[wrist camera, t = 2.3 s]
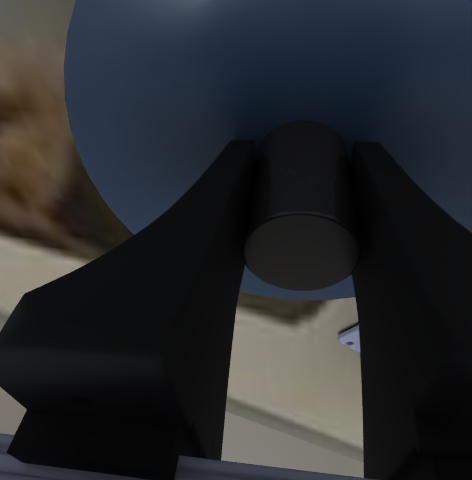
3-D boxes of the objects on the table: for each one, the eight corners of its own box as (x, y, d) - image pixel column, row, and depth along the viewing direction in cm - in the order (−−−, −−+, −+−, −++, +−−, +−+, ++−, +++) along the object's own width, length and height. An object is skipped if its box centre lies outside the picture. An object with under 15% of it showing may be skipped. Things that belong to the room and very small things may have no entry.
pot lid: (682, 110, 10) (870, 245, 6) (311, 316, 18) (312, 419, 15) (266, -491, 5) (196, -1056, 2) (29, 162, 14) (-56, 263, 10)
